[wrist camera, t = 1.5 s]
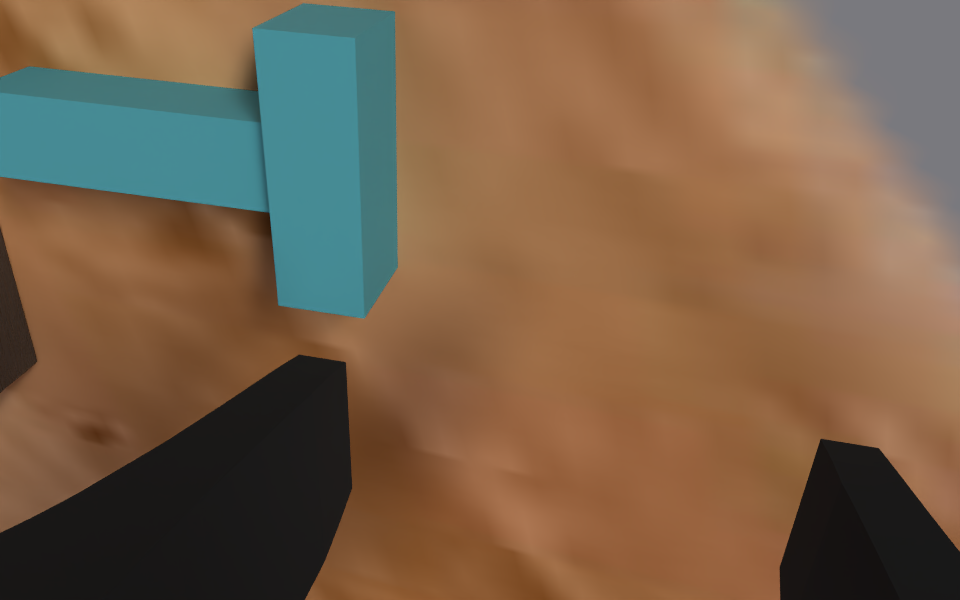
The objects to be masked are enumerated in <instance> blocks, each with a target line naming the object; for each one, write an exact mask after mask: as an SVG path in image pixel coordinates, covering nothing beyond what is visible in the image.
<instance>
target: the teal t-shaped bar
mask: <svg viewBox="0 0 960 600" xmlns="http://www.w3.org/2000/svg"><path fill="white" fill-rule="evenodd" d="M252 29H253V40H254V50H255V61H256V72H257V82H258V91H251V90H241V89H232V88H223V87H214V86H205V85H195V84H186V83H177V82H168V81H159V80H149V79H140V78H131V77H122V76H113V75H103V74H94V73H85V72H76V71H67V70H57V69H48V68H39V67H30V66H29V67H26V68H24V69H21V70H18V71H16V72H13V73H11V74H8V75H5V76H3V77H0V177H7V178H14V179H22V180H29V181H37V182H44V183H52V184H59V185H67V186H74V187H82V188H89V189H97V190H104V191H112V192H119V193H126V194H134V195H141V196H149V197H156V198H164V199H171V200H179V201H186V202H194V203H201V204H209V205H216V206H224V207H231V208H239V209H246V210H254V211H261V212H269V213H270V221H271V231H272V242H273V253H274V263H275V274H276V284H277V295H278V305H279V306H285V307H292V308H299V309H305V310H312V311H318V312H325V313H331V314H338V315H344V316H351V317H358V318H364V319H365V317H366V315H367V314H368V312H369V311H370V309H371V308H372V306H373V305H374V303H375V302H376V300H377V298H378V297H379V295H380V294H381V292H382V291H383V289H384V288H385V286H386V284H387V283H388V281H389V280H390V278H391V277H392V275H393V274H394V272H395V271H396V269H397V267H398V258H397V163H396V69H395V12H394V11H383V10H372V9H361V8H349V7H338V6H327V5H316V4H305V3H303V4H301V5H299V6H297V7H295V8H293V9H291V10H289V11H287V12H285V13H283V14H281V15H279V16H277V17H274V18H272V19H270V20H268V21H266V22H264V23H262V24H260V25H258V26H256V27H254V28H252Z"/></svg>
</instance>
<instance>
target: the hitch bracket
mask: <svg viewBox="0 0 960 600" xmlns="http://www.w3.org/2000/svg"><path fill="white" fill-rule="evenodd" d="M36 362H37V359H36V356H35V352H34V348H33V345H32V341H31V338H30V334H29V330H28V327H27V323H26V320H25V316H24V312H23V309H22V305H21V302H20V298H19V294H18V291H17V287H16V283H15V280H14V276H13V273H12V269H11V265H10V262H9V258H8V255H7V251H6V247H5V244H4V240H3V237H2V233H1V229H0V392H2V391H3V390H4V389H5V388H6V387H8V386H9V385H10V384H11V383H12V382H13V381H15V380H16V379H17V378H18V377H19V376H21V375H22V374H23V373H24V372H25V371H27V370H28V369H29V368H30V367H31V366H32V365H34V364H35V363H36Z"/></svg>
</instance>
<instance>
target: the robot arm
mask: <svg viewBox="0 0 960 600" xmlns="http://www.w3.org/2000/svg"><path fill="white" fill-rule="evenodd" d="M351 489H352V477H351V457H350V437H349V417H348V397H347V377H346V362H341V361H335V360H329V359H322V358H316V357H310V356H304V355H298V356H296V357H295V358H293V359H291V360H290V361H288V362H286V363H285V364H283V365H282V366H280V367H279V368H277V369H275V370H274V371H272V372H271V373H269V374H268V375H266V376H265V377H263V378H262V379H260V380H259V381H257V382H256V383H254V384H253V385H251V386H250V387H248V388H247V389H245V390H244V391H242V392H241V393H240V394H238V395H237V396H235V397H234V398H232V399H231V400H229V401H228V402H226V403H225V404H223V405H222V406H220V407H218V408H217V409H215V410H214V411H212V412H211V413H209V414H208V415H206V416H205V417H203V418H201V419H200V420H198V421H197V422H195V423H194V424H192V425H191V426H189V427H188V428H186V429H185V430H183V431H181V432H180V433H178V434H177V435H175V436H174V437H172V438H171V439H169V440H168V441H166V442H164V443H163V444H161V445H159V446H158V447H156V448H154V449H153V450H151V451H149V452H148V453H146V454H144V455H142V456H141V457H139V458H137V459H136V460H134V461H132V462H131V463H129V464H127V465H125V466H124V467H122V468H120V469H119V470H117V471H115V472H114V473H112V474H110V475H108V476H107V477H105V478H103V479H102V480H100V481H98V482H97V483H95V484H93V485H92V486H90V487H88V488H86V489H85V490H83V491H81V492H79V493H78V494H76V495H74V496H72V497H70V498H68V499H67V500H65V501H63V502H61V503H59V504H57V505H55V506H53V507H51V508H50V509H48V510H46V511H44V512H42V513H40V514H38V515H36V516H34V517H32V518H30V519H28V520H26V521H24V522H22V523H20V524H18V525H16V526H14V527H12V528H10V529H8V530H6V531H4V532H2V533H0V600H305V598H306V596H307V594H308V592H309V591H310V589H311V587H312V585H313V583H314V581H315V579H316V577H317V575H318V573H319V571H320V569H321V567H322V565H323V563H324V561H325V559H326V556H327V554H328V551H329V549H330V546H331V544H332V541H333V538H334V536H335V533H336V531H337V528H338V525H339V523H340V520H341V517H342V514H343V512H344V509H345V506H346V503H347V501H348V498H349V495H350V492H351ZM780 600H960V552H959V550H958V549H957V548H956V547H955V545H954V544H953V543H952V542H951V540H950V539H949V538H948V536H947V535H946V534H945V533H944V531H943V530H942V529H941V528H940V526H939V525H938V524H937V522H936V521H935V520H934V519H933V517H932V516H931V515H930V514H929V512H928V511H927V510H926V508H925V507H924V506H923V505H922V503H921V502H920V501H919V499H918V498H917V497H916V495H915V494H914V493H913V492H912V490H911V489H910V488H909V486H908V485H907V484H906V482H905V481H904V480H903V479H902V477H901V476H900V475H899V473H898V472H897V471H896V469H895V468H894V467H893V466H892V464H891V463H890V462H889V461H888V459H887V458H886V457H885V456H884V454H883V453H882V452H881V451H880V449H879V448H874V447H868V446H862V445H856V444H850V443H843V442H837V441H831V440H825V439H821V440H820V443H819V446H818V449H817V452H816V455H815V459H814V462H813V465H812V468H811V471H810V474H809V477H808V481H807V484H806V487H805V490H804V493H803V496H802V499H801V502H800V506H799V509H798V512H797V515H796V518H795V521H794V524H793V528H792V531H791V534H790V537H789V540H788V543H787V546H786V549H785V553H784V556H783V559H782V562H781V565H780Z"/></svg>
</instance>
